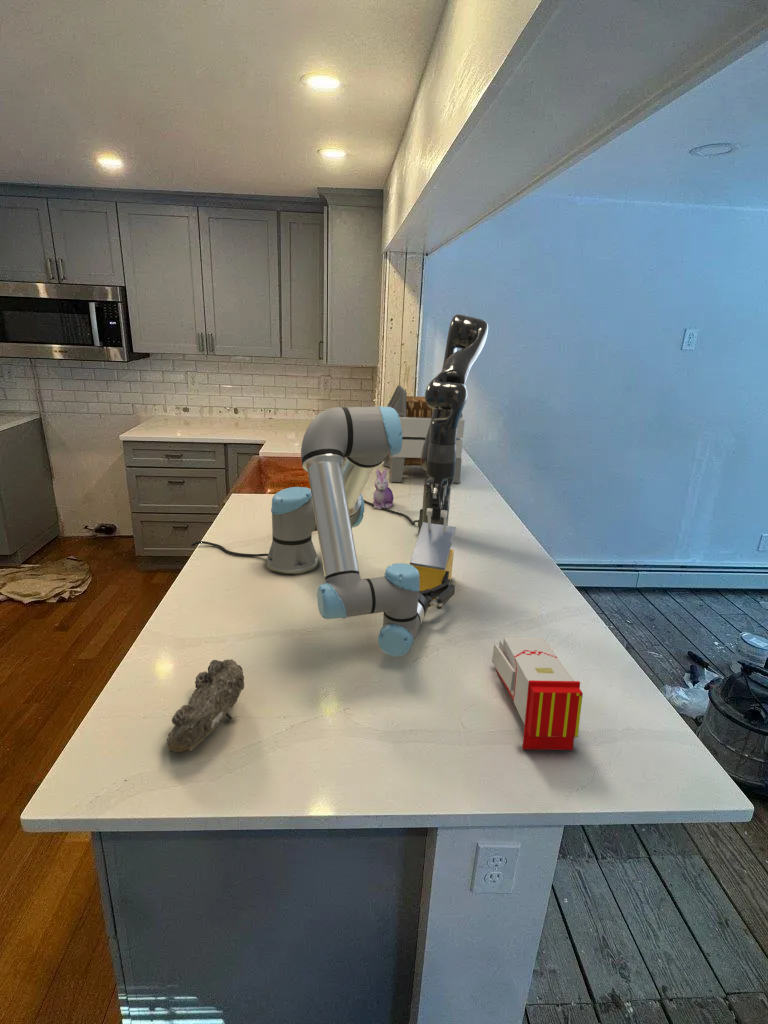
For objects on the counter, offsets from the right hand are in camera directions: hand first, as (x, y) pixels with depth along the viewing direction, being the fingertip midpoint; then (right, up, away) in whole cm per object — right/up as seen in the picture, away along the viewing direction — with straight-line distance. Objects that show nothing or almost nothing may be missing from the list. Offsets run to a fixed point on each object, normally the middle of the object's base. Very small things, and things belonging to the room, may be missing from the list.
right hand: (436, 518), depth 157 cm
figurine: (-15, +4, +70) cm, 72 cm away
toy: (+15, -37, -40) cm, 57 cm away
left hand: (-2, -15, 0) cm, 15 cm away
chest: (-1, -20, +6) cm, 21 cm away
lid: (-1, -8, +1) cm, 8 cm away
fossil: (-47, -37, -49) cm, 78 cm away
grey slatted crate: (+3, +21, +118) cm, 120 cm away
